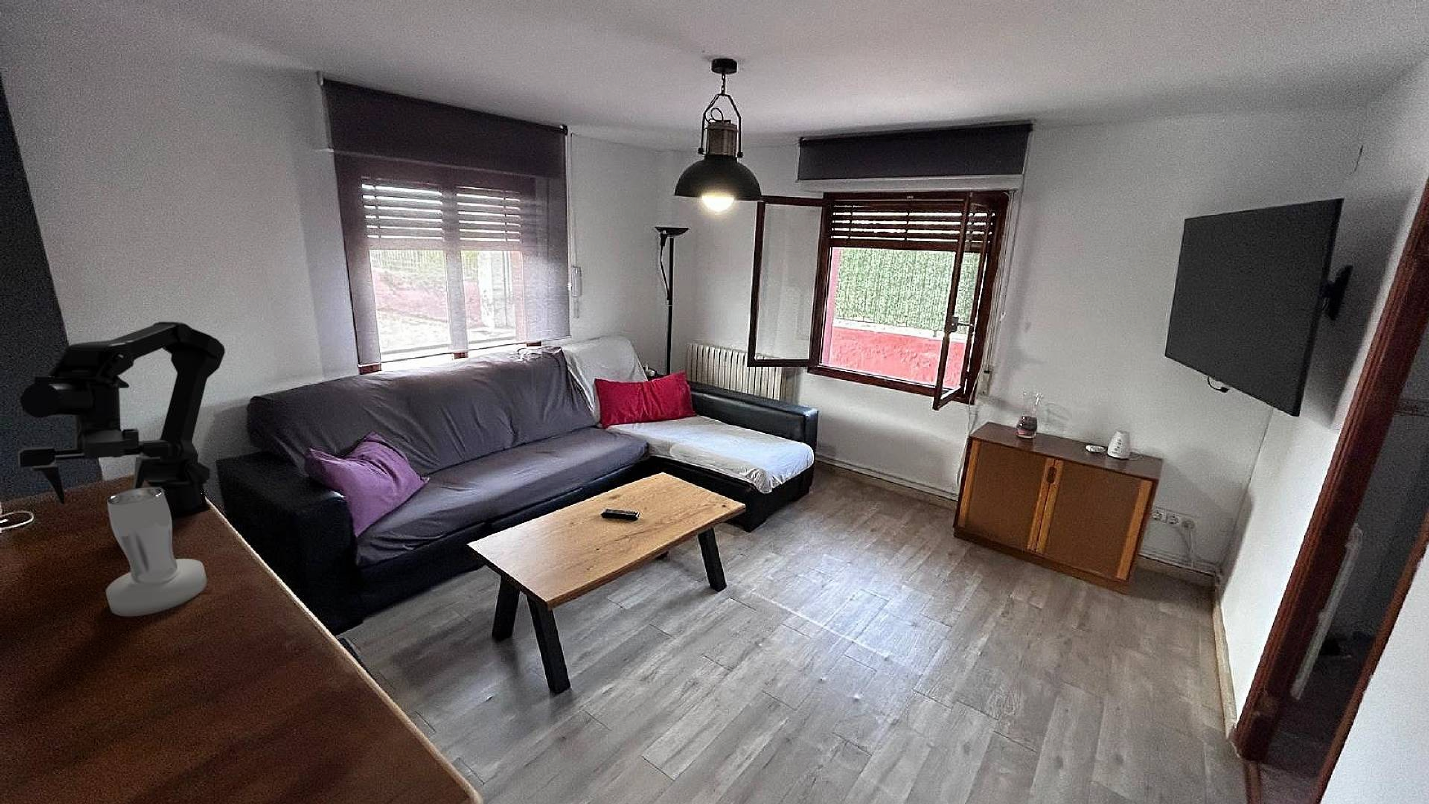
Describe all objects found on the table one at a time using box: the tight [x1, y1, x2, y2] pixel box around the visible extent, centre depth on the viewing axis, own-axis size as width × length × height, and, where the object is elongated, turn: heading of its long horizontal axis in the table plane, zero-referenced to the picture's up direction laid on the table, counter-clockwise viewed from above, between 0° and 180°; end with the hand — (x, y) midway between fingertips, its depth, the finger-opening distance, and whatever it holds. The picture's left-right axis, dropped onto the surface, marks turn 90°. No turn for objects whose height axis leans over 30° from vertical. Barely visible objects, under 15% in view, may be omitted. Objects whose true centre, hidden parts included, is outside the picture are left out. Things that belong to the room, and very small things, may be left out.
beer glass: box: [106, 486, 180, 587], centre depth 97 cm, size 7×7×15 cm
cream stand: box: [105, 558, 208, 617], centre depth 99 cm, size 12×12×3 cm
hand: (100, 500), depth 106 cm, fingers open, 9 cm apart
